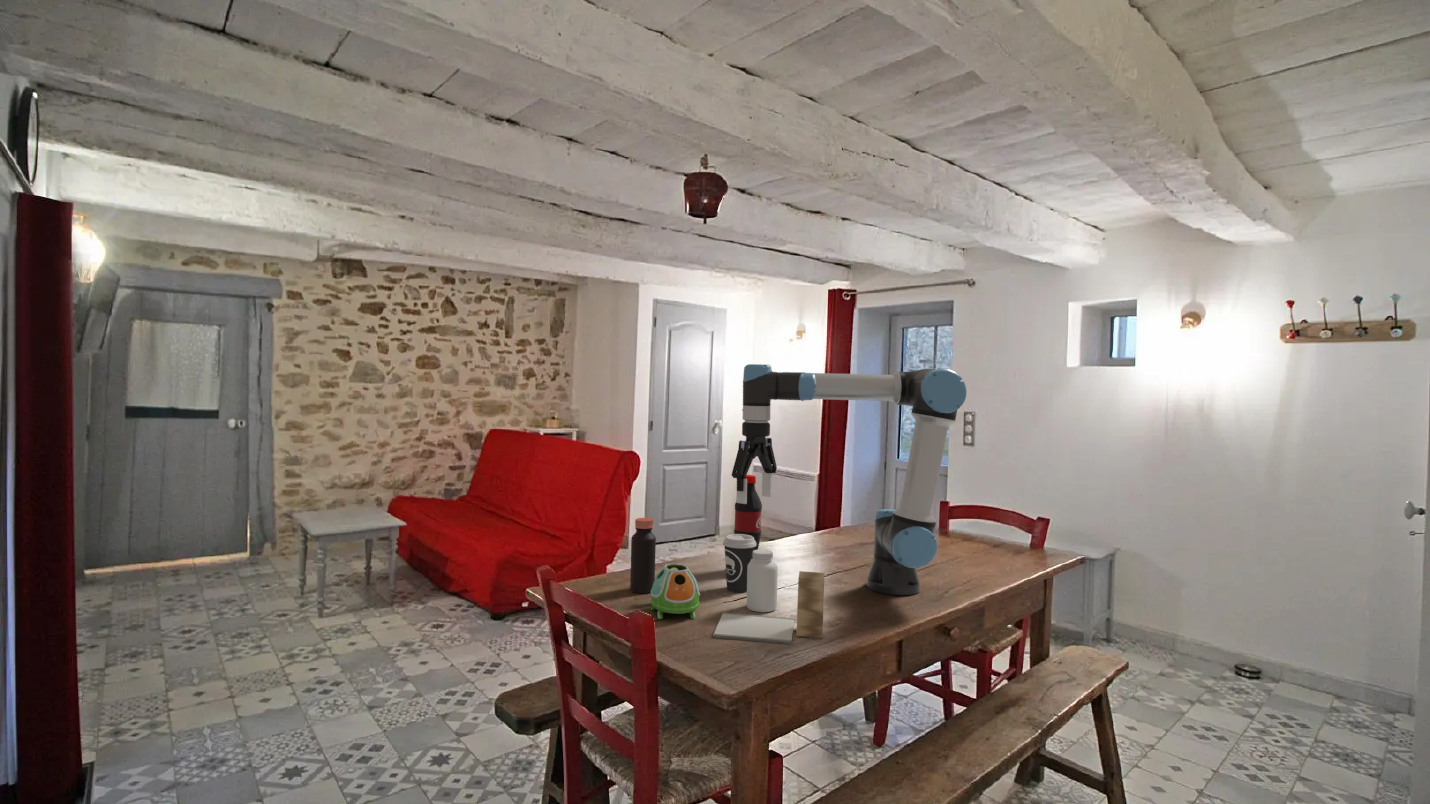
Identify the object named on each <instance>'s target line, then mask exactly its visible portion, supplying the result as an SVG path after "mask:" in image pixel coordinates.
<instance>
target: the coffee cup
mask: <svg viewBox="0 0 1430 804" xmlns="http://www.w3.org/2000/svg"><path fill="white" fill-rule="evenodd" d="M722 545H723V547H724V558H725V559H724V560H725V576H726V578H725V579H726V590H727V591H728V592H731V593H738V594H741V593H742V594H743V593H747V566H748V564H749V562H751V561H752V560H753V551H754V549H755V546H756V541H755V540H754V537H753V536H750V535H745V534H734V533H733V534H732V533H731V534H728V535H726V536H725V538H724V540H723V542H722Z"/></svg>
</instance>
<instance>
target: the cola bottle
mask: <svg viewBox="0 0 1430 804" xmlns="http://www.w3.org/2000/svg"><path fill="white" fill-rule="evenodd" d="M745 479H747V504H742V503H736V502H735V503H734V529H733V534H745V535H750V536H753V537H754V540H755V541H756V546H755V549H754V550H759V546H760V541H761V537H762V536H761V535H762V509H763V503H762V501H761V498H760V496H759V493H758V492H757V491H756V485H755V484H756V482H757V481H756V480H757V478H756V476H755V475H753V474H747V475H746V477H745Z"/></svg>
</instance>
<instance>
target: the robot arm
mask: <svg viewBox="0 0 1430 804" xmlns="http://www.w3.org/2000/svg"><path fill="white" fill-rule="evenodd" d="M742 377H743V378H742V410H741V411H742V420H743V422H742V425H741V427H742V428H741V429H742V430H741V434H742V436H744V437H745V440H739V441H738V449H737V454H736V457H735V461H734V464H733V467H732V471H731V476H732V478H733V479H736V502H735V503H742V504H747V479H745V477H746V475H748V473H749V470H750V468H751V465H752V463H753V461H754V459H756V457H758V460H759V463H760V464H761V467H762V469H763V472H762V475H761V479H762V480H761V497H767V498H771V497H772V495H773V474H776V473H777V469H778V468H777V467H778V466H777V461H776V458H775V453H774V450H773V449H774V447H773V440H772V437H769V436H770V434H771V424H770V422H769V421H771V405H772V404H771V401H772V400H774V401H779V400H780V401H801V402H804V401H813V400H833V401H834V400H835V401H836V400H839V401H873V402H875V401H876V402H891V403H892V404H893V405H894V406H896V405H897V406H907V407H908V406H909V407H912V408H911V416H912V417H913V418H914V421H915V423H914V429H913V433H912V434H913V435H912V439H911V445H910V450H909V455H908V456H909V457H908V461H907V465H906V470H905V477H904V482H903V487H902V493H901V497H900V503H899V504H900V505H899V506H898V507H897V508H896V509H891V508H890V509H885V508H883V509H877V510H876V512H875V519H874V541H873V542H874V545H873V546H874V547H873V561H872V564H871V566H870V569H869V571H868V574H867V577H866V587H867V588H868V589H870V590H871V591H873V592H876V593H881V594H886V595H894V596H910V595H915V594H917V593H920V591H921V581H920V578H919V575H918V571H917V569H919V568H923V567H925V566H926V565H928V564H929V563H931V562H932V561H933V560H934V558H935V556H936V555H937V552H938V541H937V538H936V535H935V531H936V526H937V525H936V524H937V519H936V518H935V516H934V515H933V510H934V504H935V498H936V493H937V488H938V481H939V478H940V472H941V466H942V463H943V456H944V450H945V444H946V440H947V434H948V429H949V427H950V426H951V425H953V424H954V423H955V422H956V419H957V413H958V410H959V409H960V408H961V407H962V406H963V404H964V403H965V401H966V397H967V386H966V383H965V381H964V380H963V378H962V376H960V374H958V373H957V372H956V371H954V370H952V369H950V368H949V369H948V368H944V367H935V368H923V369H917V370H907V371H895V372H893V373H892V374H874V373H873V374H868V373H864V374H863V373H831V372H830V373H823V372H822V373H821V372H819V373H818V372H804V371H799V372H796V371H793V372H791V371H790V372H789V371H783V372H779V371H777V372H776V371H773V368H772V365H771V364H761V363H760V364H756V363H755V364H753V363H752V364H751V363H749V364H746V365H745V366H744V368H743V376H742Z"/></svg>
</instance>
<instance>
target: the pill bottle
mask: <svg viewBox="0 0 1430 804" xmlns="http://www.w3.org/2000/svg"><path fill="white" fill-rule="evenodd" d="M773 558H774V552H773V551H772V550H770V549H760V548H758V550H754V551H753V560H752V561H751V562H749V564H748V566H747V592H746V607H747V609H748V610H750V611H753V612H756V613H770V612H774V611H775V610H776V609H777V606H778V574H779V573H778V572H779V571H778V568H779V567H778V565H777V563H776V562H775V561H774V559H773Z"/></svg>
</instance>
